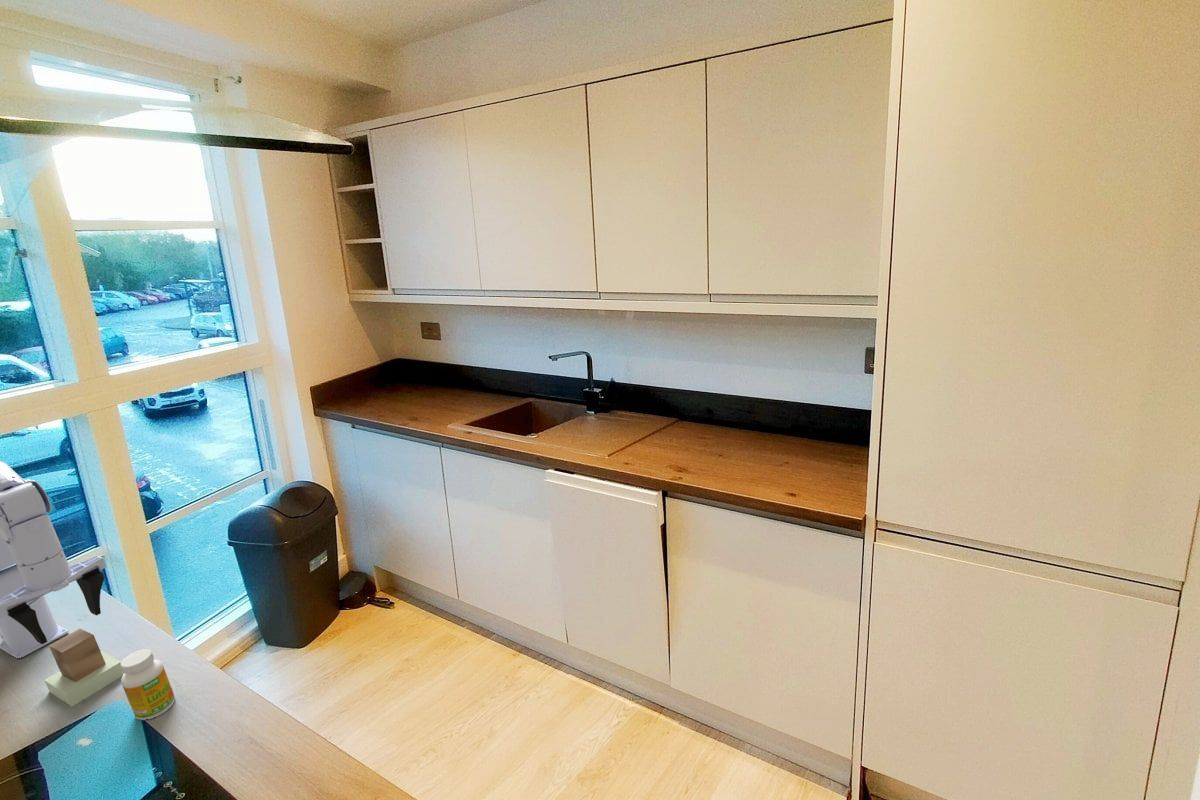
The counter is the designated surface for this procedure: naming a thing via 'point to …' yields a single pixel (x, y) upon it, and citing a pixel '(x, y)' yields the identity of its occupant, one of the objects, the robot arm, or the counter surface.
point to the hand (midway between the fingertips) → (69, 626)
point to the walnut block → (77, 655)
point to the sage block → (85, 681)
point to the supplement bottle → (146, 685)
